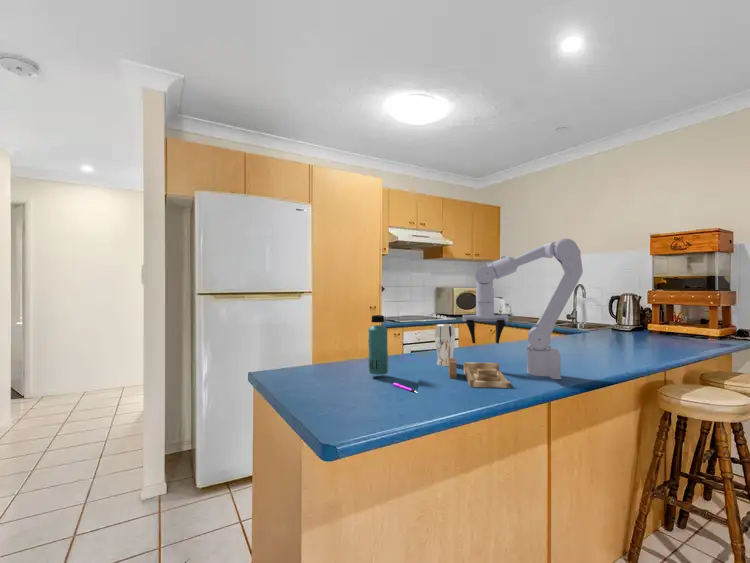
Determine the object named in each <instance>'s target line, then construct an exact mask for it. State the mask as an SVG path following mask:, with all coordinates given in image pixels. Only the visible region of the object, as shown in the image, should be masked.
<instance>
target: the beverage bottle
mask: <svg viewBox="0 0 750 563" xmlns="http://www.w3.org/2000/svg"><path fill="white" fill-rule="evenodd" d="M370 322H371V323H384V322H385V316H384V315H382V314H381V315H380V314H375V315H372V316H371V321H370ZM388 330H389V329H388V328H387V327H386V326H385V325H381V324H377V325H376V324H374V325H371V326H369V328H368V341H367V342H368V343H367V344H368V372H369V374H371V375H380V376H381V375H387V374H388V372H389V350H388Z"/></svg>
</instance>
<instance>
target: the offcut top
mask: <svg viewBox="0 0 750 563" xmlns="http://www.w3.org/2000/svg"><path fill="white" fill-rule="evenodd" d="M477 376H478V377H497V370H496V369H477Z"/></svg>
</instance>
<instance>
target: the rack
mask: <svg viewBox="0 0 750 563" xmlns="http://www.w3.org/2000/svg"><path fill="white" fill-rule="evenodd" d="M477 369H496V370H497V375H499V376H500V377H501V381H476V375H477ZM463 373H464V375H465V378H466V380H467V383H468V385H469V388H493V389H494V388H496V389H498V388H500V389H512V388H511V381H509V380H508V379H507V378H506V376H505V375H504V374H503V372H501V370H500V363H499V362H471V361H470V362H467V361H466V362H463Z"/></svg>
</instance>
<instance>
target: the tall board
mask: <svg viewBox="0 0 750 563" xmlns="http://www.w3.org/2000/svg"><path fill="white" fill-rule="evenodd" d="M448 364H449V366H448V376H449V379H457V376H458V375H457V360H456V357H453V358H448Z"/></svg>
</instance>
